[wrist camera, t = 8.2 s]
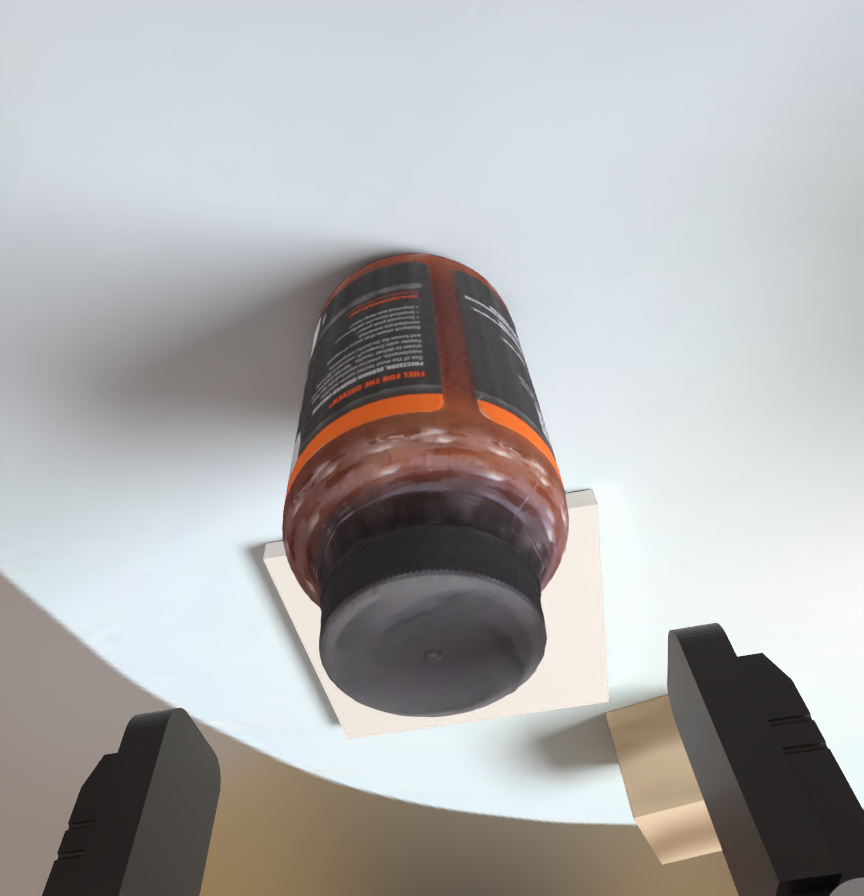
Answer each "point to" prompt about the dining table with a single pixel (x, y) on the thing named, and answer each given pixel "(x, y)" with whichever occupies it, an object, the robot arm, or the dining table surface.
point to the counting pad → (566, 653)
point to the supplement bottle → (423, 492)
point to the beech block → (661, 781)
